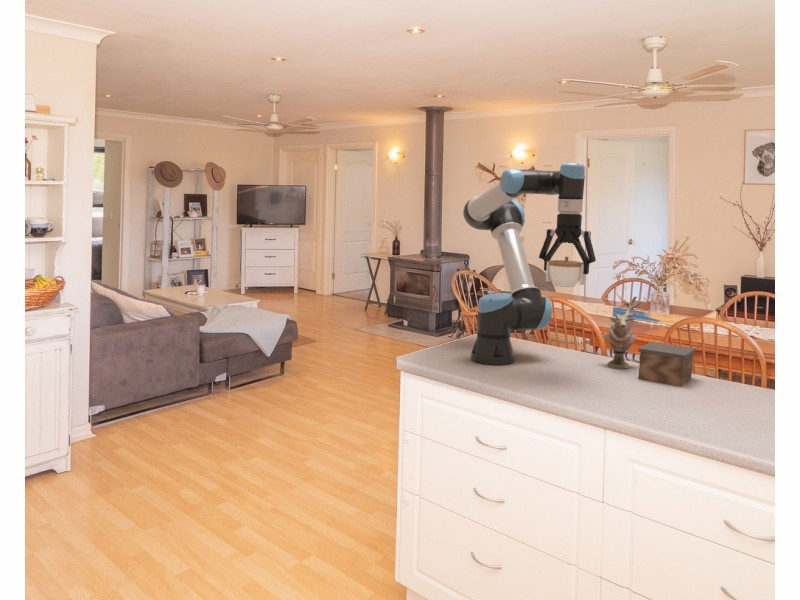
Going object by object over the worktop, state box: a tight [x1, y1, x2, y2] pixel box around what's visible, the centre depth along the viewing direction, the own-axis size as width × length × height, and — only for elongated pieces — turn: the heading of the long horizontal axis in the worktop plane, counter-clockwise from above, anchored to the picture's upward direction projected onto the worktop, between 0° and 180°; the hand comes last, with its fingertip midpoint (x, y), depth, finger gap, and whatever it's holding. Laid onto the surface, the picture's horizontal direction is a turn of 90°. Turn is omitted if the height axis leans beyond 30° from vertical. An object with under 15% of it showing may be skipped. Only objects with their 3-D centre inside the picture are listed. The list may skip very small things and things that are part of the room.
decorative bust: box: [601, 296, 642, 370], centre depth 217 cm, size 11×13×25 cm
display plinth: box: [637, 341, 697, 387], centre depth 205 cm, size 14×14×10 cm
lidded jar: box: [549, 256, 583, 288], centre depth 202 cm, size 11×11×9 cm
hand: (565, 282), depth 203 cm, fingers closed on lidded jar, 11 cm apart
